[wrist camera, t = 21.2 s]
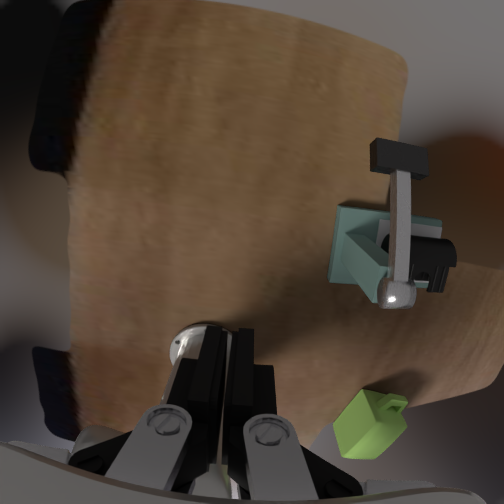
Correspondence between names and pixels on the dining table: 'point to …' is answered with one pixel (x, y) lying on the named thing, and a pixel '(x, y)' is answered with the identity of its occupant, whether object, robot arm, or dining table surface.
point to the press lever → (398, 216)
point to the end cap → (429, 260)
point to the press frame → (368, 246)
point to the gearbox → (370, 424)
